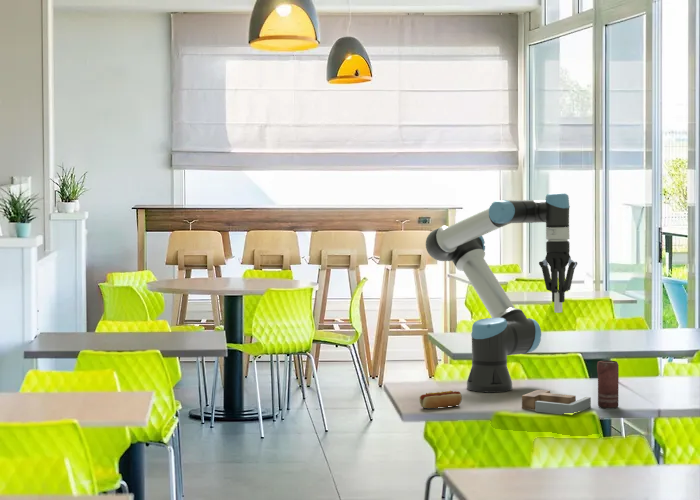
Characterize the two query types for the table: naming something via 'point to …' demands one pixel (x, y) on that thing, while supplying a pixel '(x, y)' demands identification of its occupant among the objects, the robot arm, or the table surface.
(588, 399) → the bracket
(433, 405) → the food
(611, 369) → the can
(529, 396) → the t block
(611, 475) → the table surface
